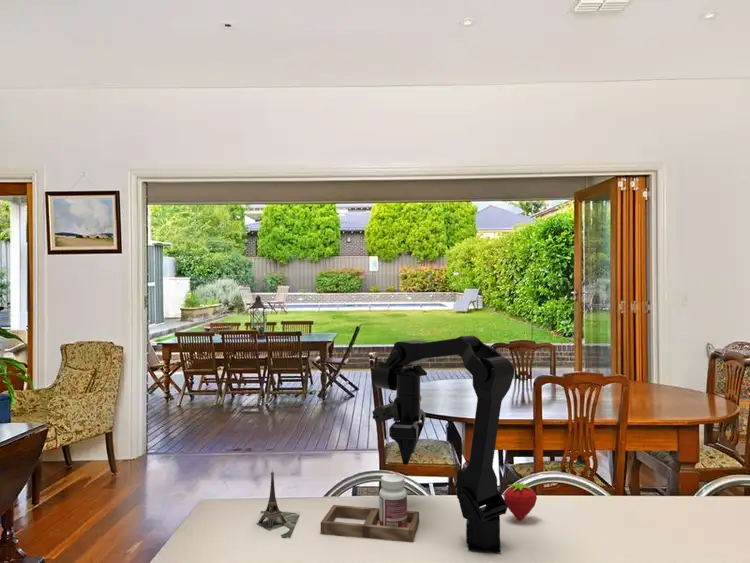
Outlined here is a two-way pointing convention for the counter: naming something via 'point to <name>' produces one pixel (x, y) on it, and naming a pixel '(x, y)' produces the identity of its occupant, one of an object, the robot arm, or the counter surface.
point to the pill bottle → (393, 501)
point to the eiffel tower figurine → (277, 515)
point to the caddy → (367, 524)
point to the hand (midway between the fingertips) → (408, 458)
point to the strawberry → (520, 499)
